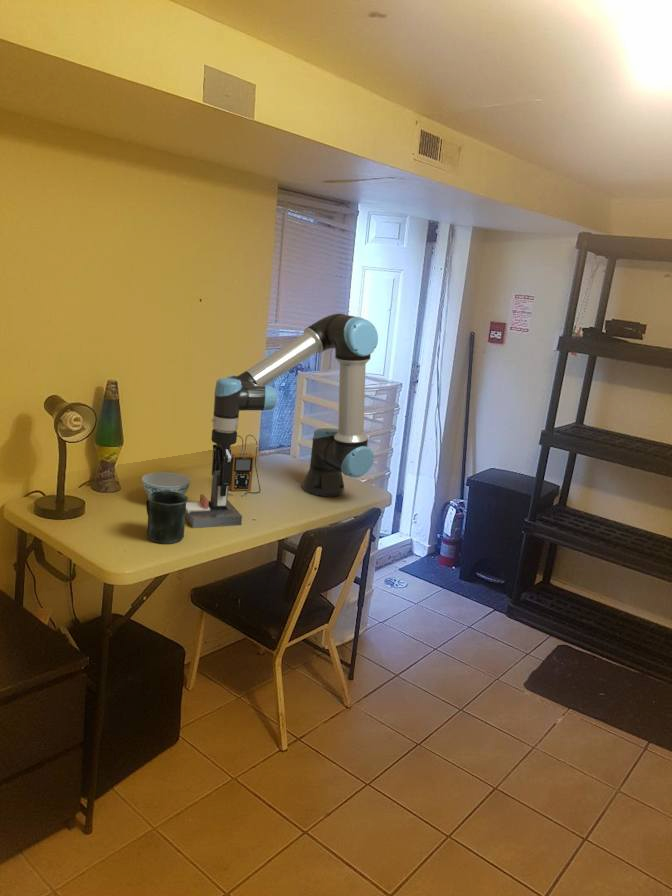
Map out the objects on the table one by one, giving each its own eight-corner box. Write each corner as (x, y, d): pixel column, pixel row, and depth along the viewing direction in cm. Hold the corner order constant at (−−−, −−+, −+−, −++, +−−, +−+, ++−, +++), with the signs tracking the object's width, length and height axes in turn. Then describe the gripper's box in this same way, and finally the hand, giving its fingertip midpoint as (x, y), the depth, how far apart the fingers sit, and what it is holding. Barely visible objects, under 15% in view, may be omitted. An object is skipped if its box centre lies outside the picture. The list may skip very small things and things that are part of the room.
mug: (161, 548, 189) (163, 507, 186) (130, 531, 197) (132, 491, 194) (193, 540, 197) (196, 500, 194) (162, 523, 206) (164, 485, 203)
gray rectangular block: (222, 502, 218) (225, 469, 215) (226, 506, 215) (229, 473, 212) (210, 502, 216) (213, 470, 214) (214, 507, 213) (216, 474, 210)
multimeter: (224, 498, 233) (229, 441, 228) (218, 489, 242) (223, 433, 237) (267, 498, 239) (272, 442, 234) (259, 488, 248) (264, 434, 243)
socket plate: (227, 508, 224) (228, 498, 223) (241, 525, 212) (242, 514, 211) (181, 511, 217) (181, 500, 216) (192, 528, 205) (193, 516, 204)
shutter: (203, 503, 217) (204, 493, 216) (209, 511, 211) (210, 501, 210) (182, 504, 214) (182, 494, 213) (187, 512, 208) (188, 502, 207)
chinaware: (139, 509, 215) (140, 485, 213) (142, 493, 229) (143, 470, 227) (188, 511, 218) (190, 487, 216) (188, 495, 232) (190, 473, 230)
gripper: (204, 422, 215) (199, 494, 221) (221, 437, 200) (215, 513, 206) (228, 422, 218) (222, 493, 224) (245, 437, 204) (239, 511, 210)
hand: (218, 502), depth 215 cm, fingers closed on gray rectangular block, 4 cm apart
